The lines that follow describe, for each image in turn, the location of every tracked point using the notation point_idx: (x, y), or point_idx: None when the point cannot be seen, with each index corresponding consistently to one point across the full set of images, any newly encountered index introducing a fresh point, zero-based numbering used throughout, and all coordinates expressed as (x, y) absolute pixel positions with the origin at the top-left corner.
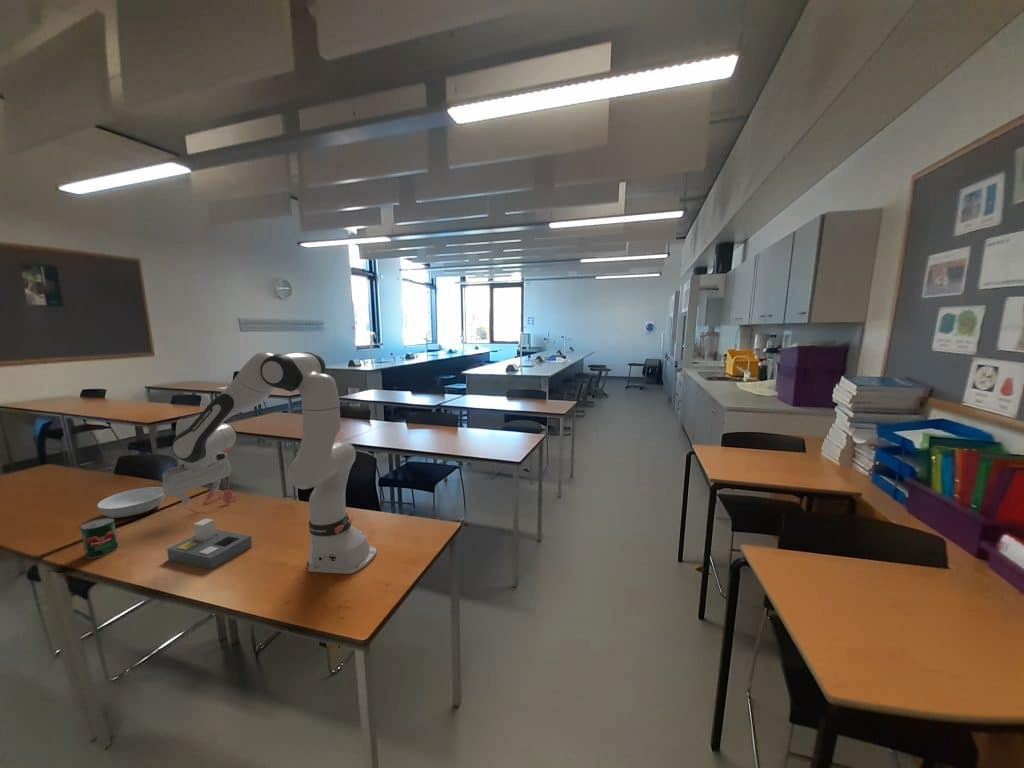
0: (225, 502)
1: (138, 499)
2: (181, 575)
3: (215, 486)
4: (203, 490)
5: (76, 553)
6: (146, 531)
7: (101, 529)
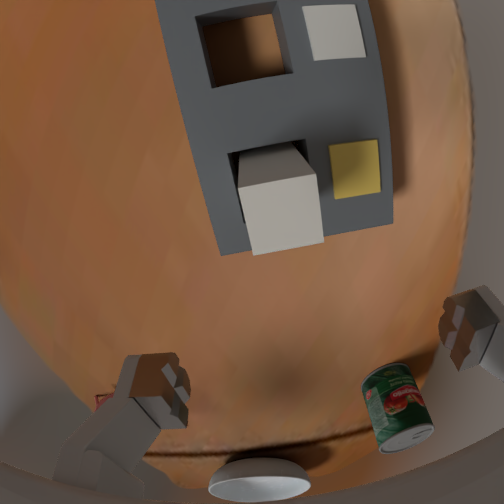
0: None
1: (242, 483)
2: (409, 54)
3: (136, 421)
4: (144, 458)
5: None
6: (295, 404)
7: (417, 417)
